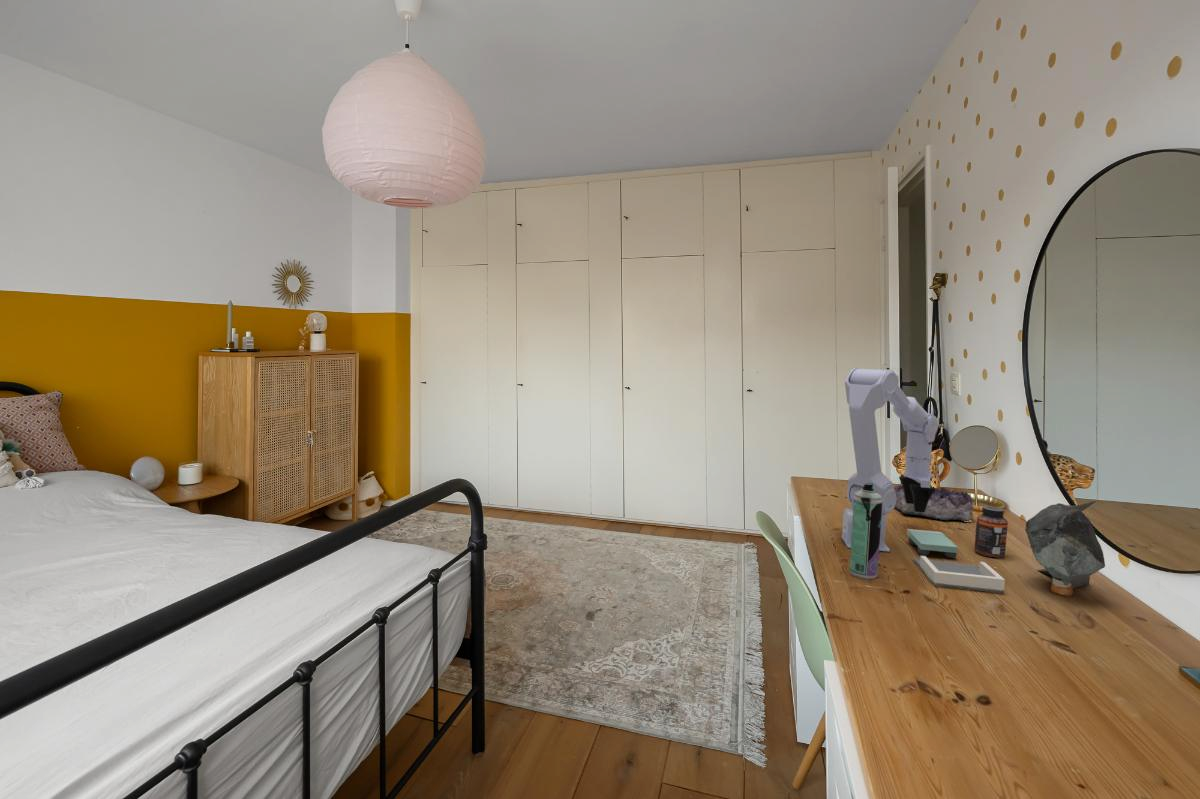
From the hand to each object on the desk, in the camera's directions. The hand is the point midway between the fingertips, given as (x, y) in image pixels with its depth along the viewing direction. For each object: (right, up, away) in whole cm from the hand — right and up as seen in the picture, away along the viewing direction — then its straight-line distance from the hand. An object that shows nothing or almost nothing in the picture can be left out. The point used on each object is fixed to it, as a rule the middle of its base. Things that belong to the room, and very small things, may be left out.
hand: (914, 507), depth 140 cm
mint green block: (-4, -8, -13) cm, 16 cm away
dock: (-7, -9, -26) cm, 29 cm away
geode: (+14, -6, +15) cm, 22 cm away
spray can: (-27, -9, -26) cm, 39 cm away
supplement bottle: (+9, -9, -14) cm, 19 cm away
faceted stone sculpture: (+11, -10, -32) cm, 35 cm away
